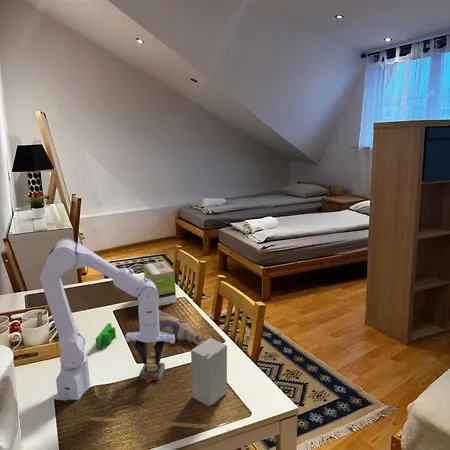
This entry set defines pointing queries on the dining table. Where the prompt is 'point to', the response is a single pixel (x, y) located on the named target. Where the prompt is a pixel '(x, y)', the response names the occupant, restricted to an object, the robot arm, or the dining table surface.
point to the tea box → (162, 281)
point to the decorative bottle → (177, 328)
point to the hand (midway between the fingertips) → (151, 362)
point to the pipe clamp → (105, 336)
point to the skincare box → (209, 371)
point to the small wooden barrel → (151, 362)
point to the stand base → (152, 373)
